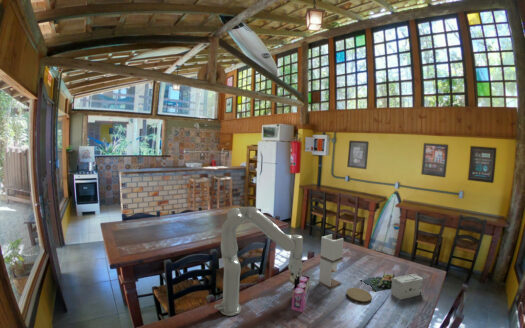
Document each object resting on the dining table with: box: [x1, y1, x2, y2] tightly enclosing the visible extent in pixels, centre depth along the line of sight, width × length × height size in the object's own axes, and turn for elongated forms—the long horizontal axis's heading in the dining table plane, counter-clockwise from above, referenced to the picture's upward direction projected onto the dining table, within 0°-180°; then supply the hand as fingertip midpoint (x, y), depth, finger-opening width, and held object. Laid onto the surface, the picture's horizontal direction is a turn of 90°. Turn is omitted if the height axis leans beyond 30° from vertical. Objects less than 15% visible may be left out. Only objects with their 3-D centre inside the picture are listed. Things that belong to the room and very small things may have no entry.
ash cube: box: [289, 274, 300, 286], centre depth 172 cm, size 4×4×4 cm
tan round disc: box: [345, 287, 373, 305], centre depth 180 cm, size 16×16×3 cm
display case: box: [318, 233, 344, 290], centre depth 195 cm, size 11×11×35 cm
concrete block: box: [390, 271, 424, 300], centre depth 184 cm, size 21×8×20 cm, turn 111°
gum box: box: [291, 275, 310, 313], centre depth 172 cm, size 22×7×13 cm, turn 161°
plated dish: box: [363, 271, 396, 293], centre depth 201 cm, size 35×28×7 cm
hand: (294, 282), depth 172 cm, fingers closed on ash cube, 4 cm apart
